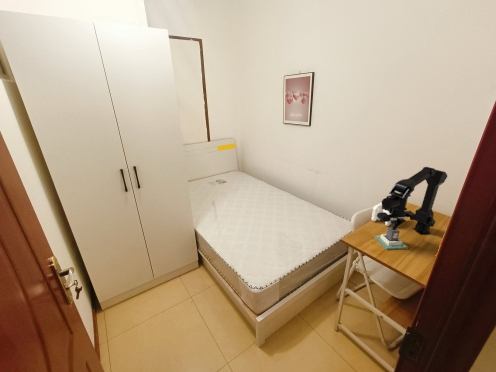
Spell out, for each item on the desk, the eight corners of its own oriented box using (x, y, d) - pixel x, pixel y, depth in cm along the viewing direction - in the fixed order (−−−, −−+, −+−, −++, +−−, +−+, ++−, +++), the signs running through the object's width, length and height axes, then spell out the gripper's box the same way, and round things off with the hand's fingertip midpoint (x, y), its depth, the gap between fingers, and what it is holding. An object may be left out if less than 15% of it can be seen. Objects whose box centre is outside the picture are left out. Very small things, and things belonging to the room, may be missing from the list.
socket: (393, 236, 129) (393, 233, 129) (401, 244, 122) (402, 241, 122) (380, 237, 129) (380, 234, 129) (388, 245, 122) (389, 242, 122)
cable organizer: (386, 228, 140) (389, 212, 135) (369, 221, 148) (372, 206, 144) (397, 220, 147) (401, 205, 143) (381, 214, 156) (384, 199, 151)
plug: (392, 238, 128) (394, 227, 125) (397, 243, 124) (400, 231, 120) (385, 239, 128) (388, 227, 125) (390, 244, 124) (393, 232, 120)
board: (394, 235, 132) (394, 234, 131) (408, 248, 121) (408, 247, 120) (374, 237, 132) (374, 235, 131) (386, 249, 121) (386, 248, 120)
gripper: (406, 197, 125) (400, 220, 130) (373, 199, 124) (369, 222, 130) (421, 206, 114) (414, 231, 120) (385, 208, 114) (380, 233, 120)
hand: (393, 229), depth 123 cm, fingers closed
